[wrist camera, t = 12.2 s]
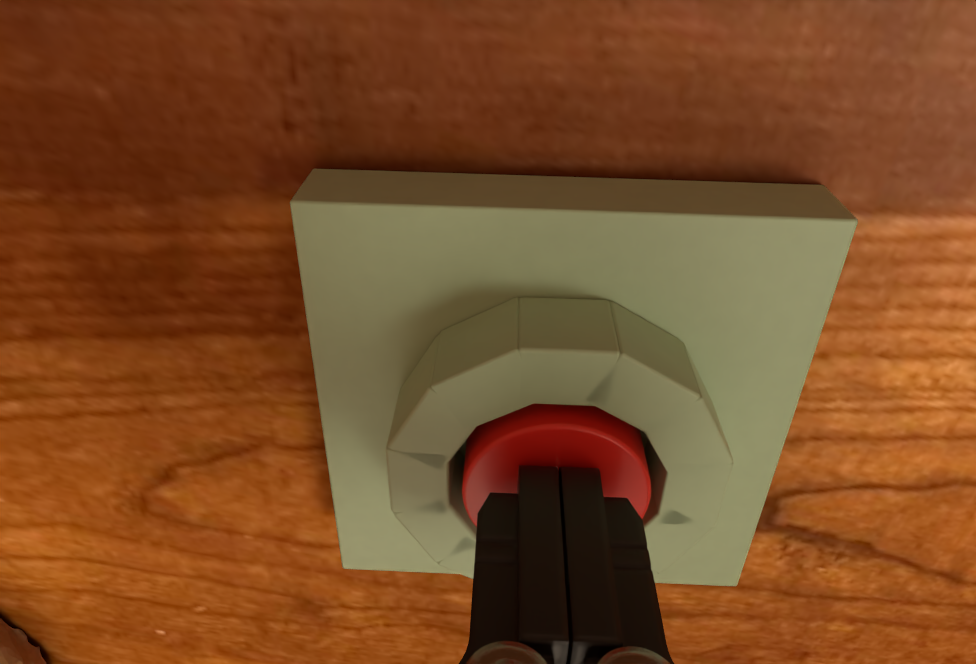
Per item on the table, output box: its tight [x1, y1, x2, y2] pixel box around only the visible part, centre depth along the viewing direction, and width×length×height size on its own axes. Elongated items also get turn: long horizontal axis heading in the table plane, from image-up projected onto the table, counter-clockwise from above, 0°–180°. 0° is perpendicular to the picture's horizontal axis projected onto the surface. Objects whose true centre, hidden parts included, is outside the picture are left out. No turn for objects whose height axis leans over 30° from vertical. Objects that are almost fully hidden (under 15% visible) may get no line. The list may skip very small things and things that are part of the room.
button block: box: [290, 169, 858, 586], centre depth 15 cm, size 10×10×4 cm
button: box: [462, 404, 651, 527], centre depth 14 cm, size 4×4×2 cm
